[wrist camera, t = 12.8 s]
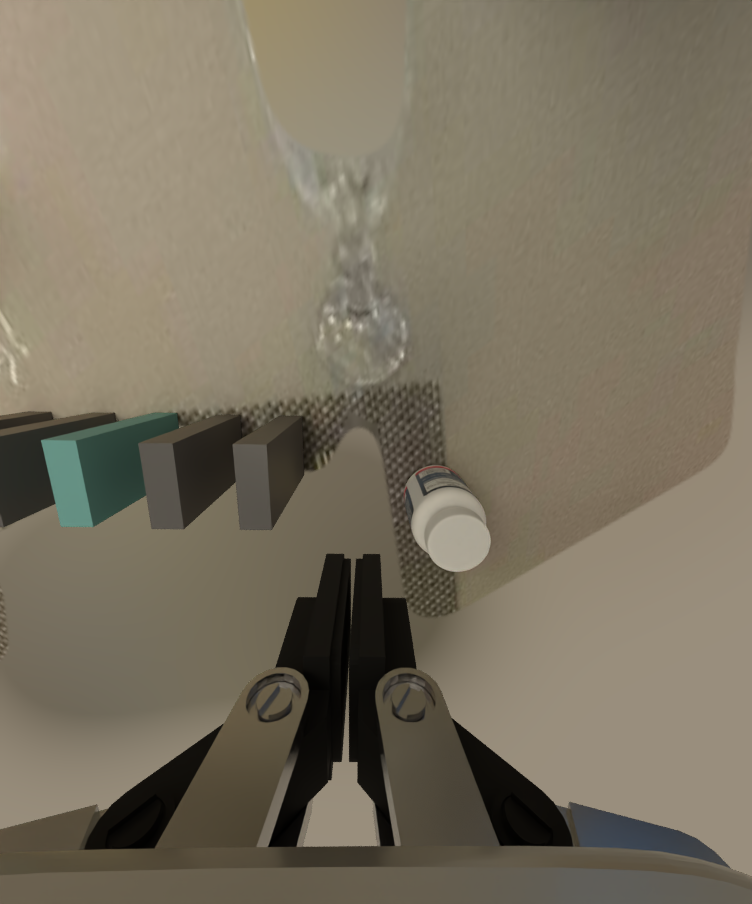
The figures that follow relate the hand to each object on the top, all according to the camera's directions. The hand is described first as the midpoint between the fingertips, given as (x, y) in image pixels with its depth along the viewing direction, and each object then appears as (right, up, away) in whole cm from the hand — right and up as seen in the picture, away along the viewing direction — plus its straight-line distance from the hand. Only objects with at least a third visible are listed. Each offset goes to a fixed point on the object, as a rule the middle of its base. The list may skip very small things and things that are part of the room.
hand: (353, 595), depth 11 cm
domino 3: (-11, +5, +18) cm, 22 cm away
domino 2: (-16, +5, +18) cm, 25 cm away
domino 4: (-6, +5, +18) cm, 20 cm away
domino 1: (-21, +5, +18) cm, 28 cm away
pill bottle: (+6, +1, +19) cm, 20 cm away
